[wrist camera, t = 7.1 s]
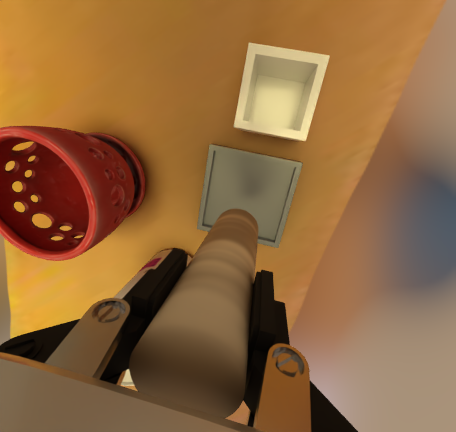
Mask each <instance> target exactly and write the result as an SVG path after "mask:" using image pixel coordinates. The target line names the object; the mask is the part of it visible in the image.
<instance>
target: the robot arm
mask: <svg viewBox="0 0 456 432" xmlns="http://www.w3.org/2000/svg"><path fill="white" fill-rule="evenodd" d="M187 260H188V254H185V251H184V250H180V249H176V248H174V249H173V250H172V251H171V252H170V253H169V254H168V255H167V256H166V258H165V259H164V260H163V261H162V262H161V263H160V264H159V266H158V267H157V268H156V269H149V270H148V271H147V272H146V273H145V274H144V275H143V277H142V278H141V279H140V280H139V281H138V282H137V283H136V284H135V285H134V286H133V287H132V288H131V289H130V291H129V292H128V293H127V294H126V295H125V296H124V297H123V298H122V299H119V298H108V299H104V300H101V301H98V302H97V303H95V304H93V305H92V306H91V307H90V308H89V309H88V311H87V312H86V313H85V314H84V316H83V317H82V318H81V319H78V320H74V321H71V322H67V323H63V324H60V325H56V326H52V327H49V328H45V329H41V330H38V331H34V332H30V333H27V334H23V335H20V336H17V337H14V338H12V339H10V340H8V341H6V342H4V343H3V344H2V345H0V432H358V431H357V430H356V429H355V428H354V427H353V426H352V425H351V424H350V423H349V422H348V420H346V418H345V417H344V416H343V415H342V414H341V413H340V412H339V411H338V410H337V409H336V408H335V407H334V406H333V405H332V404H331V402H330V401H329V400H328V399H327V398H326V397H325V396H324V395H323V394H322V393H321V392H320V391H319V390H318V389H317V388H316V386H315V385H314V384H313V383H312V382H311V381H310V377H309V366H308V363H307V361H306V359H305V357H304V356H303V355H302V354H301V353H300V352H299V351H298V350H297V349H296V348H294V347H292V346H290V344H289V335H288V327H287V318H286V309H285V303H283V302H279V301H275V300H274V286H273V272H269V271H265V270H261V272H257V273H256V277H255V281H254V284H253V295H252V306H251V318H250V329H249V340H248V361H247V373H246V385H245V394H244V399H243V400H244V402H245V403H246V405H247V406H248V408H249V409H250V410H249V414H248V418H247V423H246V425H243V424H240V423H237V422H234V421H231V420H228V419H225V418H221V417H218V416H215V415H212V414H209V413H206V412H202V411H199V410H196V409H193V408H190V407H186V406H183V405H180V404H177V403H173V402H170V401H167V400H164V399H161V398H157V397H154V396H151V395H148V394H144V393H141V392H138V391H135V390H132V389H128V388H125V387H122V386H120V385H121V383H122V381H123V378H124V376H125V373H126V370H127V369H129V361H130V356H131V354H132V351H133V350H134V348H135V346H136V345H137V343H138V342H139V340H140V339H141V337H142V336H143V334H144V332H145V331H146V329H147V328H148V326H149V325H150V323H151V322H152V320H153V318H154V317H155V315H156V314H157V312H158V311H159V309H160V308H161V306H162V304H163V303H164V301H165V300H166V298H167V297H168V295H169V294H170V292H171V291H172V289H173V287H174V286H175V284H176V283H177V281H178V280H179V278H180V277H181V275H182V273H183V272H184V270H185V269H186V266H187Z"/></svg>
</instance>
